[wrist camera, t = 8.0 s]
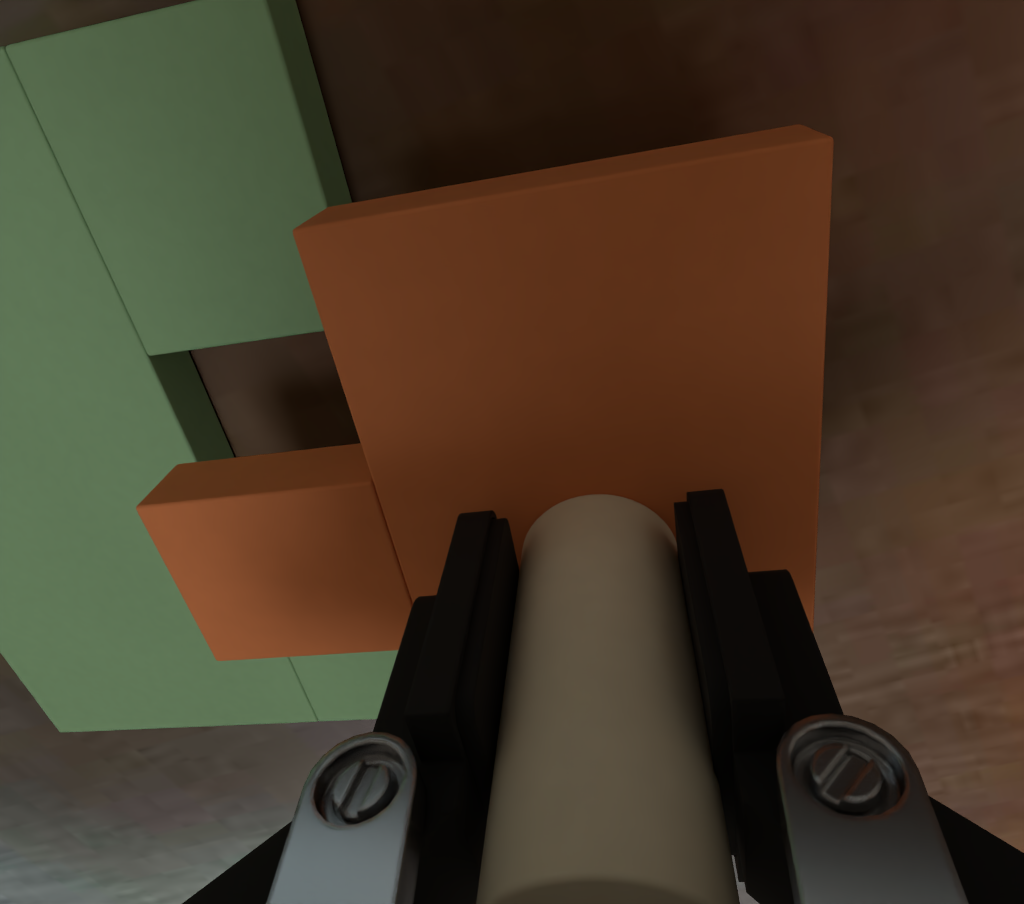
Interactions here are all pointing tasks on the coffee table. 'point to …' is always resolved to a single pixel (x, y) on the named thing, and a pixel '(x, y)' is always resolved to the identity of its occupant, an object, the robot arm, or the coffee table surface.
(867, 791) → the robot arm
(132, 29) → the notch pad
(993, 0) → the coffee table surface
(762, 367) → the tab pad
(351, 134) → the coffee table surface
